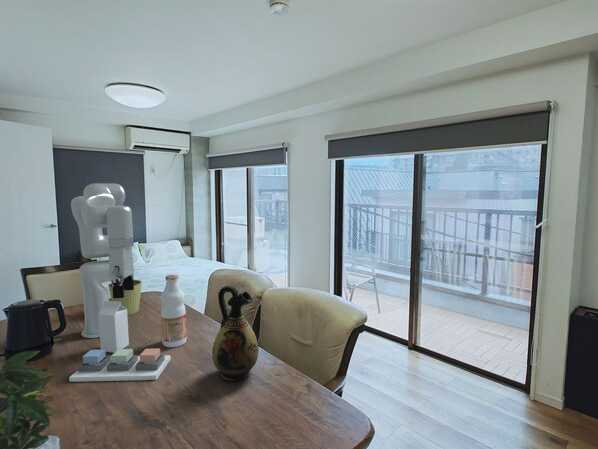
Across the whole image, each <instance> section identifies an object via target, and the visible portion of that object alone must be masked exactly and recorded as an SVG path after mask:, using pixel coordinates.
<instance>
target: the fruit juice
mask: <svg viewBox="0 0 598 449" xmlns="http://www.w3.org/2000/svg"><path fill="white" fill-rule="evenodd" d="M164 279H165V282H166V283H165V288H164V289H163V291H162V293H161V295H160V302H161V310H160V317H161V318H160V319H161V320H160V322H161V324H160V325H161V343H162V346H163V347H166V348H177V347H178V348H179V347H181V346H183V345H184V344H186V342H187V339H188V336H187V316H186V315H187V314H186V312H187V311H186V305H185V304H184V303H185V297H186V296H185V292H184V291H183V290H182V288H181V287H180V284H179V281H178V280H179V274H168V275H166V276H165V278H164Z"/></svg>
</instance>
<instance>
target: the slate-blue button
mask: <svg viewBox="0 0 598 449" xmlns="http://www.w3.org/2000/svg"><path fill="white" fill-rule="evenodd" d="M106 353H107V352H106V351H105V350H101V349H90V350H89V351H88V352H86V353H85V354H84V355H82V362H83V364H90V363H99V362H100V361H101V360H102V359H103V358H105V357H106V356H107V355H106Z"/></svg>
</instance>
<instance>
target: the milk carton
mask: <svg viewBox="0 0 598 449" xmlns="http://www.w3.org/2000/svg"><path fill="white" fill-rule="evenodd" d="M104 302H105V304H104V306H103V307H102V309H101V311H100V312H99V330H100V337H99V344H100V350H105V351H106V353H113V354H114V353H115V352H116V351H117V350H118V349H126V348H127V347H129V345H130V341H129V340H130V339H129V336H130V335H129V320H128V315H127V309H126V308H125V307H123V306H122V305H121V302H112V300H111V301H110V300H109V301H104Z"/></svg>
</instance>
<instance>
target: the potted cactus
mask: <svg viewBox="0 0 598 449" xmlns="http://www.w3.org/2000/svg"><path fill="white" fill-rule="evenodd" d="M135 269H136V268H134V270H133V274H135V271H136V270H135ZM124 279H125V278H124ZM142 282H143V281H142V280H138V279H134V290H124V297H123V298H113V287H112V282H110V283H109V284H108V285H107V286H108V290H109V291H108V292H109V294H110V295H109V296H110V298H111V301H112V302H121V305H122V306H123V307H125V308H126V309H127V316H128V315H133V314H136V313H138V312H139V309H140V303H141V292H142ZM122 285H124V284H122Z"/></svg>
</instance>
